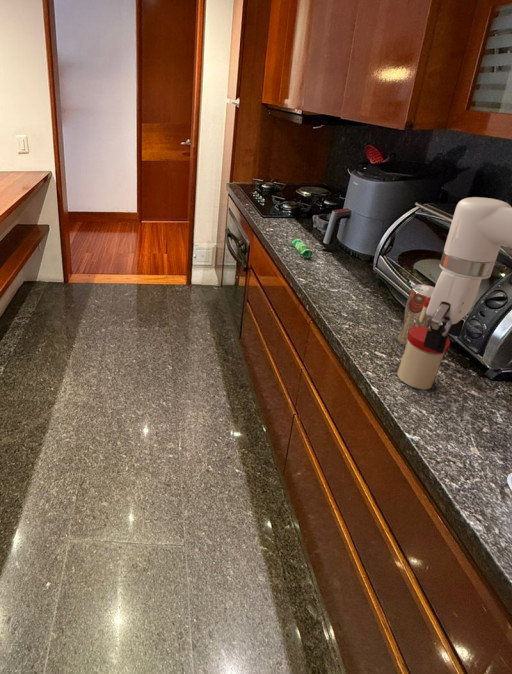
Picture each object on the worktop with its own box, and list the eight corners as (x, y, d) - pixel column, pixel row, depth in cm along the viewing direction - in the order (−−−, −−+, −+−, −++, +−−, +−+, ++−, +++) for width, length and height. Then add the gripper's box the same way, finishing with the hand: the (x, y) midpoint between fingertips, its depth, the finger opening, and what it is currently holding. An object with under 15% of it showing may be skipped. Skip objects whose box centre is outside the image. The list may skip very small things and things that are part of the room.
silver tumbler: (430, 342, 97) (449, 290, 91) (426, 355, 92) (445, 301, 87) (398, 331, 101) (414, 280, 96) (392, 343, 97) (408, 291, 91)
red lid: (451, 357, 77) (454, 350, 77) (409, 348, 80) (412, 340, 79) (443, 338, 83) (446, 331, 82) (404, 330, 86) (407, 323, 85)
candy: (314, 256, 143) (309, 247, 142) (305, 260, 144) (300, 252, 142) (301, 243, 154) (297, 235, 153) (293, 248, 155) (289, 240, 153)
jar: (427, 373, 87) (441, 334, 83) (436, 392, 81) (452, 352, 77) (394, 366, 89) (406, 327, 85) (400, 384, 84) (414, 344, 80)
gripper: (458, 246, 80) (436, 318, 86) (423, 269, 71) (402, 348, 77) (506, 258, 74) (479, 334, 81) (475, 284, 65) (447, 368, 72)
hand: (441, 340), depth 79 cm, fingers open, 8 cm apart
